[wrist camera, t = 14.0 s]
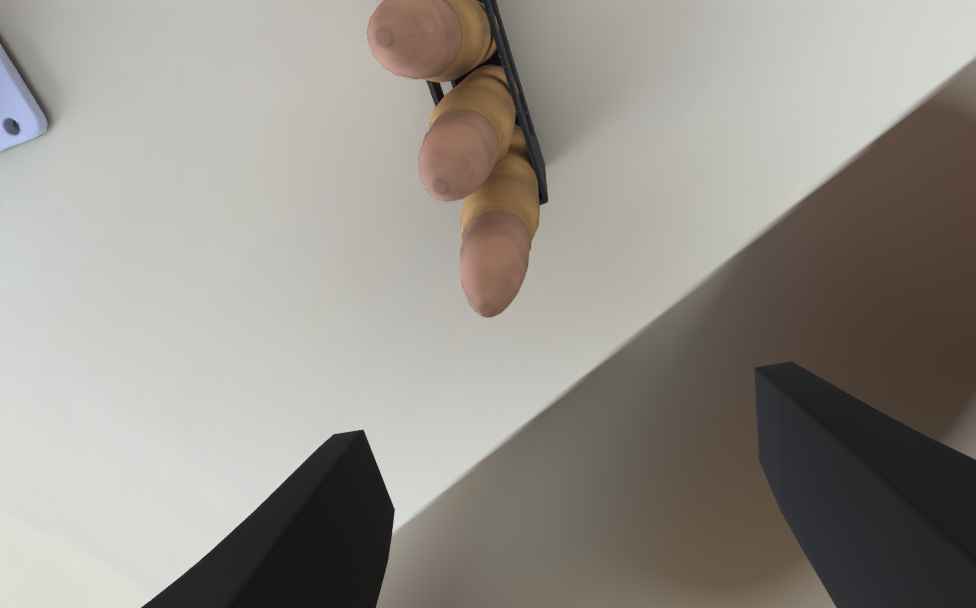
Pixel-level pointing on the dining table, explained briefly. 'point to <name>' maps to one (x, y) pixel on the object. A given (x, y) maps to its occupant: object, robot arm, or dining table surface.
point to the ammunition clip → (471, 134)
